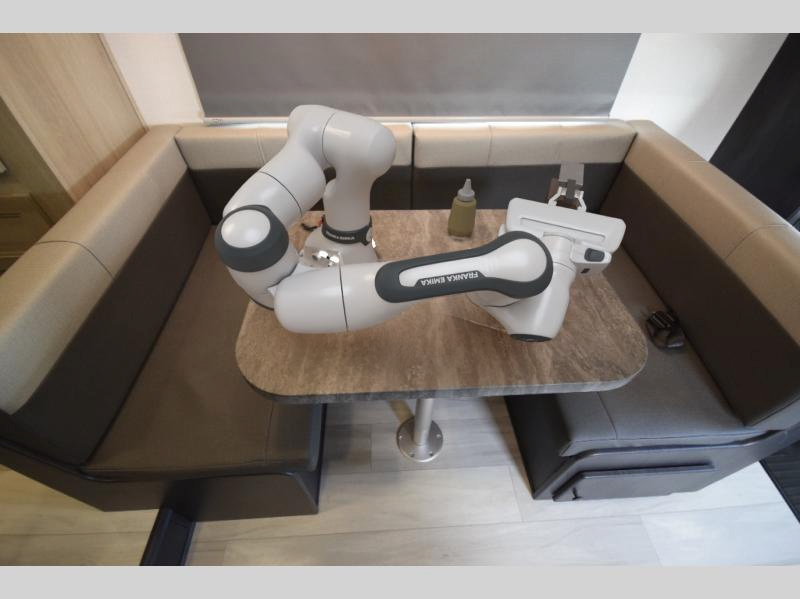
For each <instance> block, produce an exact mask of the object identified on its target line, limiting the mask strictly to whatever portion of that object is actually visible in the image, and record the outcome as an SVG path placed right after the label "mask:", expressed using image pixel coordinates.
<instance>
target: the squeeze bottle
mask: <svg viewBox="0 0 800 599" xmlns="http://www.w3.org/2000/svg"><path fill="white" fill-rule="evenodd" d="M475 195H476V193H475V191H474V190H473V189H472V180H471V179H470V178H466V179H465V182H464V184H463V187H462V188H460V189H459V190H458V191H457V195H456V196H455V197H454V198H453V200H452V204H451V209H450V212H449V216H448V219H447V227H448V231H449V233H450V235H452V236H454V237H457V238H465V237H466V238H467V237H468V236H469V235H471V234H472V232H473V230H474V229H475V224H476V214H477V200H476V198H475Z"/></svg>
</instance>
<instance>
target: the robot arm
mask: <svg viewBox="0 0 800 599" xmlns="http://www.w3.org/2000/svg"><path fill="white" fill-rule="evenodd" d="M286 134H287V141H286V143H285V145H284V146H283V148H282V149H280V151H278V152H277V153H276V154H275V155H274V156H273V157H272V158H271V159H270V160H269V161H268V162H267V163H265V164H264V165H263V166H262V167H261V168H259V169H258V170H257V171H256V172H255V173H254V174H252V175H251V176H250V177H249V178H248V179H247V180H246V181H245V182H244V183H243V184H242V185H241V187H239V189H238V190H237V191H236V192H235V193H234V195H233V196H232V197H231V198H230V200H229V201H228V202H227V204H226V205H225V207H224V208H223V211H222V219H220V222H219V223H218V224H217V226H216V229H215V233H214V246H215V249H216V252H217V255H218V257H219V259H220V261H221V262H222V263H223V264H224V265H225V267H226V268H227V271H228V272H229V274H230V276H231V277H232V279H233V280H234V282H235V283H236V284H237V285H238V286H239V287H240V288H242V289H243V290H244V292H245V293H246V294H247V295H248V296H249V298H250V299H251V300H252V302H254V303H255V304H256V305H258V306H259V307H261V308H263V309H265V310H267V311H270V312H274V313H275V316H276V319H277V321H278V322H279V324H280V325H281V326H282V328H284V329H285V330H286V331H289V332H291V333H294V334H295V333H296V334H306V335H307V334H313V335H320V334H321V335H323V334H325V335H326V334H328V335H329V334H339V333H340V334H341V333H348V332H349V333H351V332H354V331H355V332H356V331H361V330H366V329H370V328H374V327H377V326H380V325H383V324H385V323H388V322H390V321H392V320H394V319H396V318H397V317H398V316H399V315H401V314H402V313H404V312H405V311H407V310H409V309H411V308H412V307H414V306H417V305H418V304H422V303H424V302H428V301H430V300H434V299H440V298H446V297H452V296H459V295H460V296H461V295H466V297H467V299H468V300H469V301H470V302H471V304H473V305H475V306H476V307H478V308H480V309H482V310H484V311H485V312H487V313H488V314H489V315H491V317H493V318H494V319H495V320H496V321H498V322H499V323H500V325H501V326H502V327H503V328H504V330H505V333H506V334H507V335H508V336H509V337H511V338H512V339H514V340H517V341H520V342H526V343H538V344H539V343H546V342H549V341H552V340H554V339H556V337H557V336H558V334H559V332H560V330H561V328H562V325H563V323H564V320H565V317H566V314H567V311H568V307H569V303H570V300H571V297H570V296H571V295H570V291H571V290H570V289H571V286H572V284H573V283H574V282H575V279H576V277H595V276H597V275H599V274H600V273H601V272H603V271H604V270H605V269H606V268H607V267H608V266H609V265H610V263H611V261H612V255H613V254H614V253H615V252H616V251H617V250H618V249H619V247H620V245H621V243H622V240H623V238H624V235H625V232H626V228H627V225H626V223H625V221H624V220H623V219H621V218H616V217H611V216H607V215H601V214H598V213H592V212H588V211H587V205H586V204H585V201H584V199H583V198H584V193H585V191H583V190H580V189H579V190H575V196H574V201H573V203H575V204H576V207H577V208H576V210H573V209H569V208H564V207H559V206H556V203H557V201H558V200H563V199H564V197H565V195H566V191H567V188H563V187H559V188H558V190H557V193H556V195H555V196H553V197H552V198H551V199H550V200H549V202H548V204H545V203H543V202H539V201H535V200H529V199H525V198H520V197H514V198H512V199H511V200H510V201H509V203H508V206H507V208H506V209H507V210H506V214H505V219H504V222H503V223H502V224H501V225H500V226H499V229H498V232H497V237H495V238H494V239H492V240H491V241H489V242H487V243H485V244H483V245H481V246H480V245H479V246H477V247H471V248H472V249H468V248H467V249H465V250H462V249H460V250H455V251H448V252H442V253H441V252H440V253H436V254H430V255H424V256H417V257H413V258H407V259H397V260H386V261H379V258H378V255H377V253H376V250H375V247H376V244H375V241H374V239H373V236H374V228H373V217H372V215H371V190H372V187H373V184H374V182H375V181H376V180H377V179H378V178H380V177H381V176H383V175H384V174H386V173H387V172H388V171H389V170H390V169H391V167H392V166H393V164H394V162H395V159H396V155H397V141H396V137H395V135H394V132H393V130H392V129H391V128H389V127H387V126H386V125H384V124H383V123H381V122H379V121H377V120H375V119H373V118H372V117H368V116H364V115H360V114H357V113H354V112H351V111H350V112H349V111H346V110H341V109H338V108H333V107H329V106H326V105H322V104H300V105H298V106H296V107H295V108H293V109H292V111H291V112H290V113H289V116H288V119H287V123H286ZM331 167H333V169H334V171H335V178H333V179H331V180H330V181H328V182H327V181H326V176H325V170H327V169H328V168H331ZM321 199H322V203H323V210H324V214H323V215H322V216H321V218H320V219H319V220H318V221H317V222H316V225H314V226H307V225H306V224H305V223H304V222H301V224H300V225H301V226H302V227H303V228H304V229H305V230H307V231H308V230H309V231H311V230H313V231H311V233H310V234H308V236H307V237H306V239H305V241H304V245H303V247H302V249H301V250H300V251H299V252H298V251H297V249H296V248H295V245H294V243H293V242H292V240H291V238H290V234H289V230H290V229H291V228H292V227H294V226H295V224H296V223H298V222H299V221H300V220H301V219H302V218H303V217H304V216H305V215H306V214H307V213H308V212H309V211H310V210H311V209H313V207H314V206H315V205H316V204H317V203H318V202H319V201H320V200H321Z"/></svg>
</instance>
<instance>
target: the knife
mask: <svg viewBox="0 0 800 599" xmlns="http://www.w3.org/2000/svg"><path fill="white" fill-rule="evenodd" d="M584 171H585V164H584V163H580V162H574V161H569V160H563V159H562V160H561V163H560V168H559V174H558V178H557V179H558V184H560V185H565V188H567V191H566V195H565V197H564V200H563V205H565V206H570V207H571V206H572V204H573V201H574V196H575V187H576V188H579V189H582V188H583V186H584V174H585V172H584Z"/></svg>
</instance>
